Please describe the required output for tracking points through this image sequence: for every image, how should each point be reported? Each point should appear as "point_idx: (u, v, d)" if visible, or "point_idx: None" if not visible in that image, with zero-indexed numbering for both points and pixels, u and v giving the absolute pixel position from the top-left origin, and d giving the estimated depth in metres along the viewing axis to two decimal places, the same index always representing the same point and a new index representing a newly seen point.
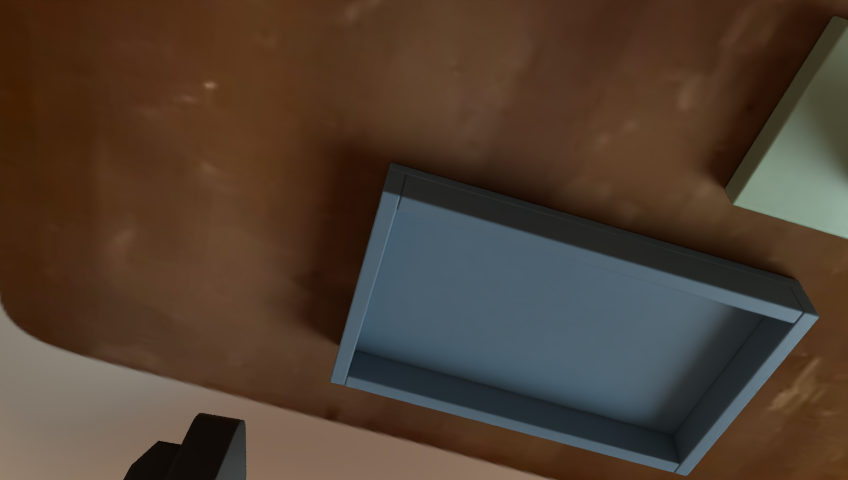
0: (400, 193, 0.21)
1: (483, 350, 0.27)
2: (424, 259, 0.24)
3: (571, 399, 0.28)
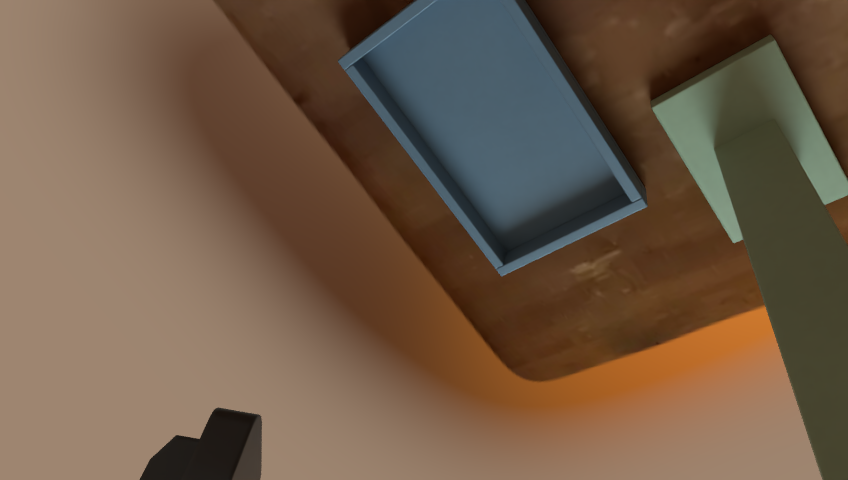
0: None
1: (442, 113, 0.36)
2: (458, 22, 0.34)
3: (467, 186, 0.38)
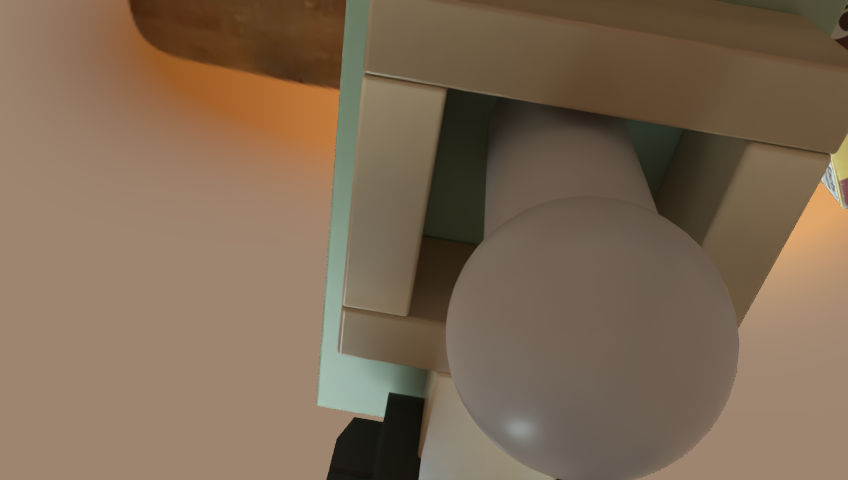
0: None
1: None
2: None
3: None
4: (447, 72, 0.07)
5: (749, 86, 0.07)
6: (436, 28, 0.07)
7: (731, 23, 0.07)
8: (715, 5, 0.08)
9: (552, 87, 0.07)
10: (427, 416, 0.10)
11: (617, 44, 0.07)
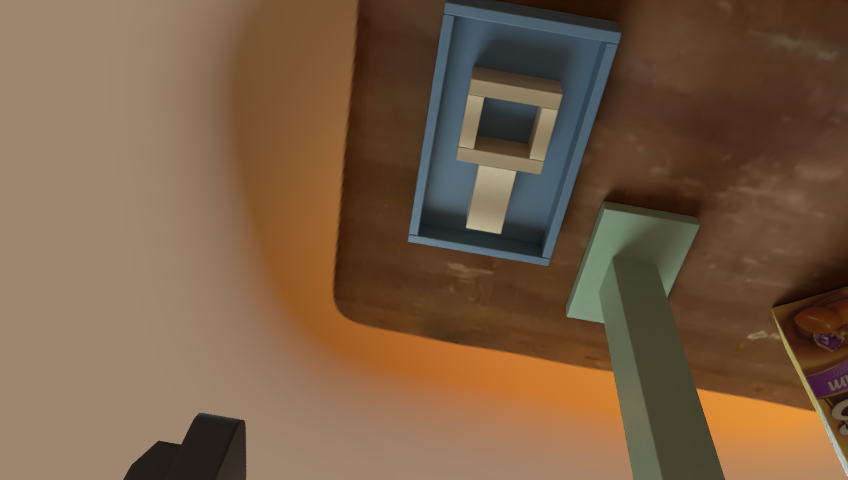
0: None
1: None
2: (548, 52, 0.37)
3: (438, 160, 0.41)
4: (484, 93, 0.36)
5: (540, 96, 0.36)
6: (482, 85, 0.36)
7: (540, 83, 0.37)
8: (539, 79, 0.37)
9: (504, 96, 0.36)
10: (476, 178, 0.39)
11: (515, 89, 0.36)
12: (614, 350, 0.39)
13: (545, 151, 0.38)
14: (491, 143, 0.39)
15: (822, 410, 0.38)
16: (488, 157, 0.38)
